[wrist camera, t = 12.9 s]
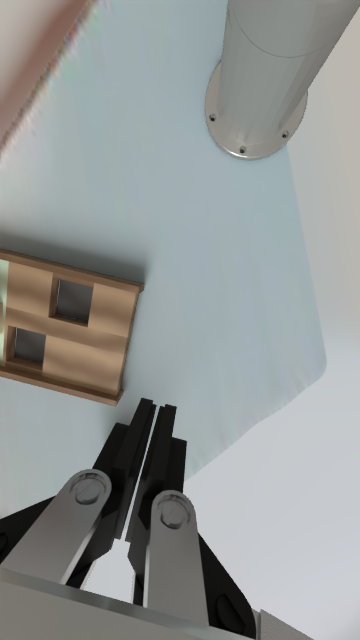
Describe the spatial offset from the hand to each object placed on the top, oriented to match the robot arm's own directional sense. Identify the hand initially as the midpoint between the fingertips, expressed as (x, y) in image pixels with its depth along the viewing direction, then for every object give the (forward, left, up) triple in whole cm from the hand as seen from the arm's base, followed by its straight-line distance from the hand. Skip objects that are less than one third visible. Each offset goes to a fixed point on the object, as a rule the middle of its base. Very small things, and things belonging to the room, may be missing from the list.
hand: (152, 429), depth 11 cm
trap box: (+8, -21, -29) cm, 37 cm away
